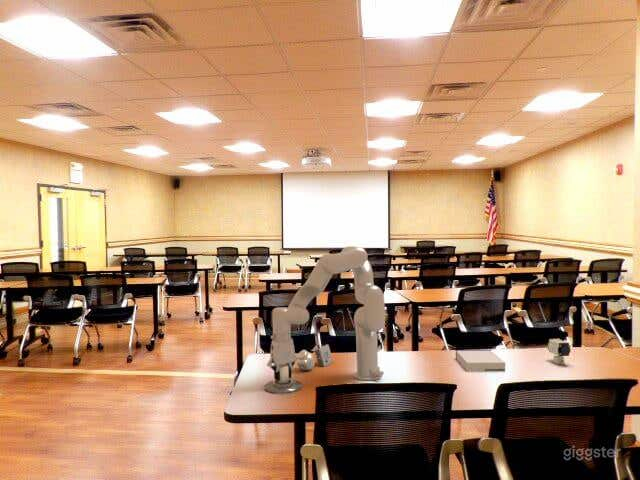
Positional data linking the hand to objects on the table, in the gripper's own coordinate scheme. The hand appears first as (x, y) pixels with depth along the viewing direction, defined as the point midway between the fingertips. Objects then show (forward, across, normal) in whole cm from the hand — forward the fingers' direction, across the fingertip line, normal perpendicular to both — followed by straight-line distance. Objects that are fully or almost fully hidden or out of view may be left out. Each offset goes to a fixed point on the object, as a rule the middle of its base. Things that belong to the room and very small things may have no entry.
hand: (283, 378), depth 203 cm
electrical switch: (+4, +34, +17) cm, 38 cm away
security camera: (+4, +121, -56) cm, 133 cm away
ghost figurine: (+4, +22, +14) cm, 26 cm away
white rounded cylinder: (+1, 0, 0) cm, 1 cm away
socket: (+4, 0, 0) cm, 4 cm away
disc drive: (+5, +91, -33) cm, 97 cm away
